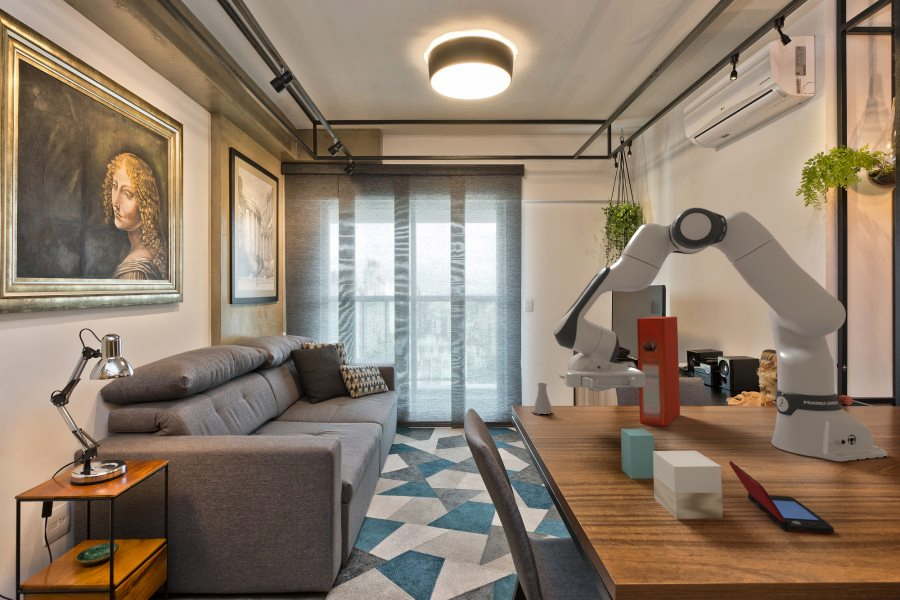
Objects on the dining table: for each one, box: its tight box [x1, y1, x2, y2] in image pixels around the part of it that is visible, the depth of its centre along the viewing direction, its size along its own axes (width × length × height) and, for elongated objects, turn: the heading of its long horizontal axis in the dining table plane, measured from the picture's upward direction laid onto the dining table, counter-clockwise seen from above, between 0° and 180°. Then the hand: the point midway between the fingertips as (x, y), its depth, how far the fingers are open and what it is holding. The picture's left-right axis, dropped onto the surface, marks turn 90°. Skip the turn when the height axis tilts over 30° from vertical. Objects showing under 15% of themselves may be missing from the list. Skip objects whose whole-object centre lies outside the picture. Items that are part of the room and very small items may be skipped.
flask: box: [531, 382, 554, 414], centre depth 150 cm, size 7×7×10 cm
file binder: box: [636, 316, 681, 428], centre depth 140 cm, size 8×17×32 cm, turn 142°
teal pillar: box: [620, 428, 655, 480], centre depth 96 cm, size 5×5×9 cm
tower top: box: [653, 450, 723, 494], centre depth 80 cm, size 8×8×4 cm
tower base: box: [653, 476, 724, 520], centre depth 80 cm, size 8×8×4 cm
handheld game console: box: [728, 460, 835, 535], centre depth 77 cm, size 12×11×7 cm
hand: (614, 384), depth 108 cm, fingers open, 8 cm apart
